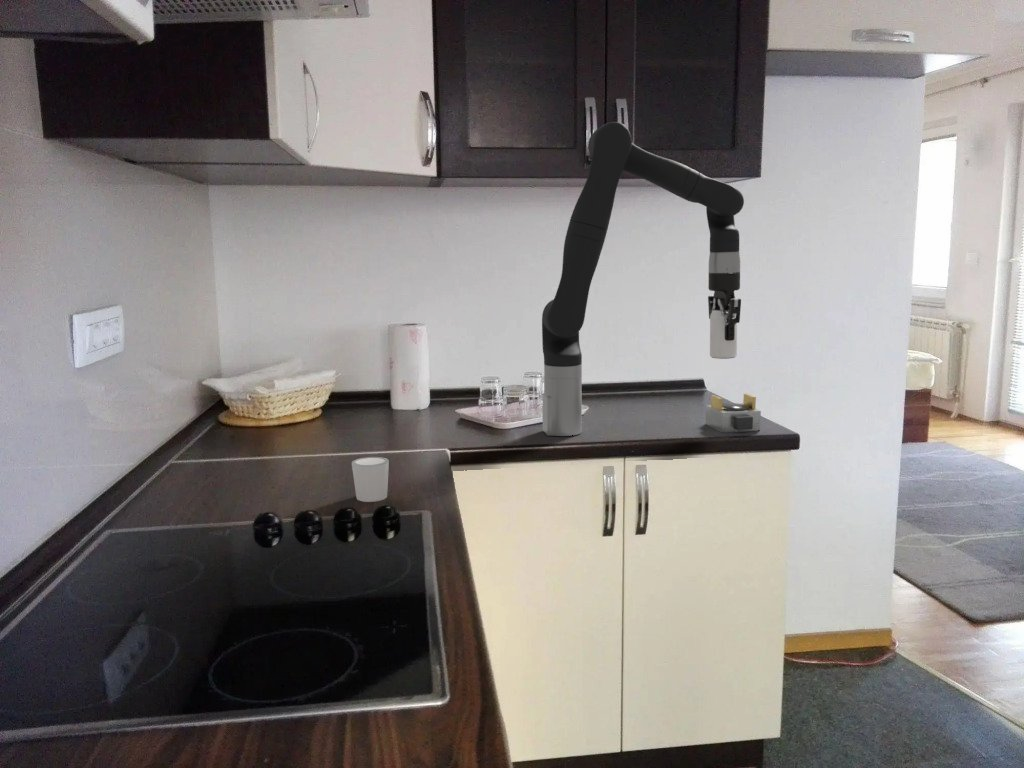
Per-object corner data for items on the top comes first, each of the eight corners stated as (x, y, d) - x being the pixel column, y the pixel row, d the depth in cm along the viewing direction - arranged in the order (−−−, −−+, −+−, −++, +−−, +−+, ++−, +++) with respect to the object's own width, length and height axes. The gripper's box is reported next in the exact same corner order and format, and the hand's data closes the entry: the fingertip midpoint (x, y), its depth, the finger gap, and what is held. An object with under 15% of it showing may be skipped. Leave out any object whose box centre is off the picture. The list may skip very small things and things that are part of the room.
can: (739, 358, 197) (740, 309, 195) (713, 359, 197) (713, 310, 195) (732, 354, 204) (733, 307, 202) (707, 355, 204) (707, 308, 202)
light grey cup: (379, 489, 155) (378, 454, 154) (397, 498, 149) (395, 461, 148) (347, 496, 151) (345, 460, 150) (363, 505, 145) (361, 468, 144)
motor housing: (725, 434, 195) (726, 402, 194) (705, 423, 207) (706, 393, 206) (763, 432, 197) (765, 400, 196) (741, 422, 209) (742, 391, 207)
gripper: (698, 270, 203) (697, 336, 206) (722, 272, 189) (721, 343, 192) (725, 269, 204) (725, 335, 207) (752, 271, 190) (751, 341, 193)
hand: (723, 338), depth 200 cm, fingers closed on can, 6 cm apart
